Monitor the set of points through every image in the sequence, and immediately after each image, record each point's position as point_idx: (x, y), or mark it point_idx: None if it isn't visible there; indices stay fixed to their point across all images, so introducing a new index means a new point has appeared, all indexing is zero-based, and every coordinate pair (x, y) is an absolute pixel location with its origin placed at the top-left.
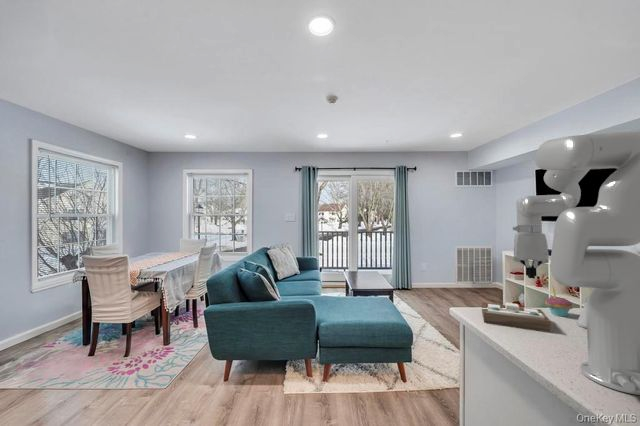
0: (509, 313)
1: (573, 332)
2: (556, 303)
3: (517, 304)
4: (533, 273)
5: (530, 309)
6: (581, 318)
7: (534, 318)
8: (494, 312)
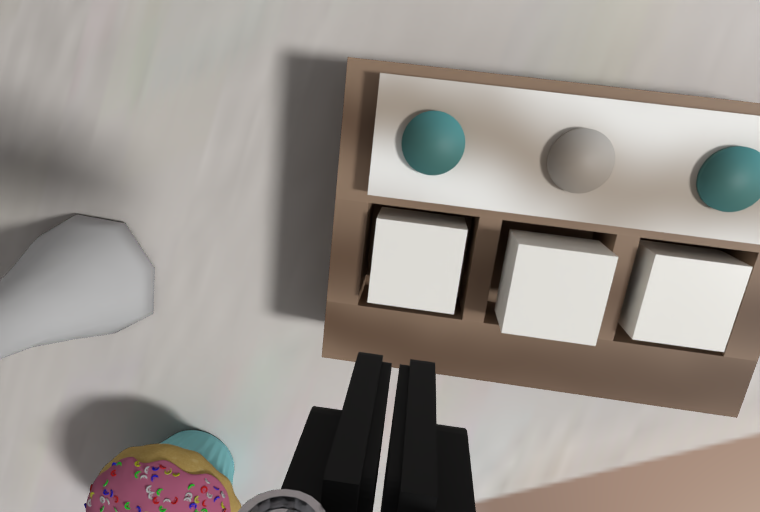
0: (638, 102)
1: (222, 126)
2: (182, 477)
3: (505, 316)
4: (365, 396)
5: (412, 289)
6: (111, 284)
7: (452, 79)
8: (756, 115)
